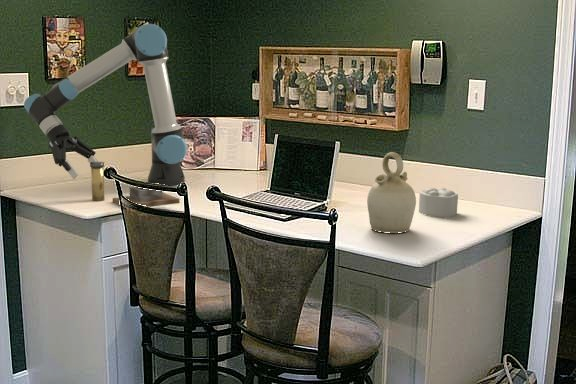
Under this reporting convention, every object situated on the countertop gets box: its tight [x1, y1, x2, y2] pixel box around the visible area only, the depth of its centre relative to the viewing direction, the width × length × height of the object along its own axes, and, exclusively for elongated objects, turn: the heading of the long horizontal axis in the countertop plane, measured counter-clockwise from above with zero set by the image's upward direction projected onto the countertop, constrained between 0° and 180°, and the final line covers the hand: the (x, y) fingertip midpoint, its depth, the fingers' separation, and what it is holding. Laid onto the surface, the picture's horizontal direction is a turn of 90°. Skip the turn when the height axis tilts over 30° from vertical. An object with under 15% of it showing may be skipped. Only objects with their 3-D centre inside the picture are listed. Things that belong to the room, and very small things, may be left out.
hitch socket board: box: [112, 186, 181, 207], centre depth 271 cm, size 20×14×6 cm
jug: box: [366, 151, 417, 233], centre depth 235 cm, size 15×16×25 cm
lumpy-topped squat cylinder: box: [418, 187, 459, 218], centre depth 260 cm, size 10×13×9 cm
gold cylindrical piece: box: [89, 161, 105, 202], centre depth 273 cm, size 5×5×14 cm
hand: (88, 173), depth 273 cm, fingers open, 13 cm apart
